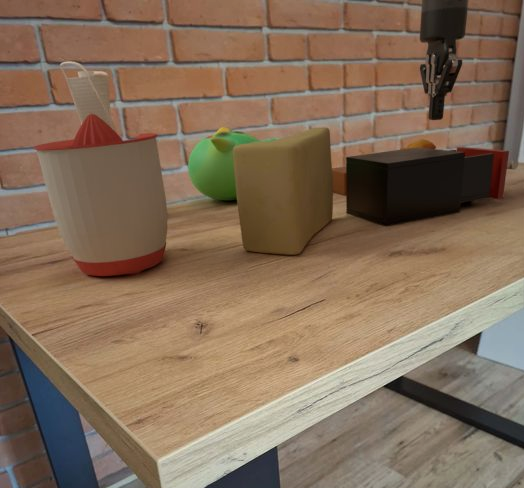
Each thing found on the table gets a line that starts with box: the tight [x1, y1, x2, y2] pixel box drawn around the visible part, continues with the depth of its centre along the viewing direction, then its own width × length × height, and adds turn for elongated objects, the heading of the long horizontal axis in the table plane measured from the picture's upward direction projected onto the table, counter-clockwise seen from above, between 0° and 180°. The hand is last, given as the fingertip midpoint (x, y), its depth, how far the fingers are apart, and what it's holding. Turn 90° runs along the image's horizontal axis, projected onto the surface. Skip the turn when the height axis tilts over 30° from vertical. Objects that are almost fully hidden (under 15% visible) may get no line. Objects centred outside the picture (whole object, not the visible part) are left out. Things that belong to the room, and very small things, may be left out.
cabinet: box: [345, 147, 465, 227], centre depth 87 cm, size 15×13×10 cm
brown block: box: [332, 166, 346, 196], centre depth 110 cm, size 4×8×4 cm, turn 22°
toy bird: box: [187, 126, 282, 201], centre depth 109 cm, size 18×17×15 cm
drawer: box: [448, 146, 519, 204], centre depth 91 cm, size 18×11×8 cm, turn 112°
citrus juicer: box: [33, 114, 168, 277], centre depth 70 cm, size 16×17×20 cm
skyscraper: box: [59, 61, 118, 134], centre depth 95 cm, size 8×8×28 cm
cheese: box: [233, 126, 334, 256], centre depth 78 cm, size 22×10×15 cm, turn 151°
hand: (435, 119), depth 94 cm, fingers closed
